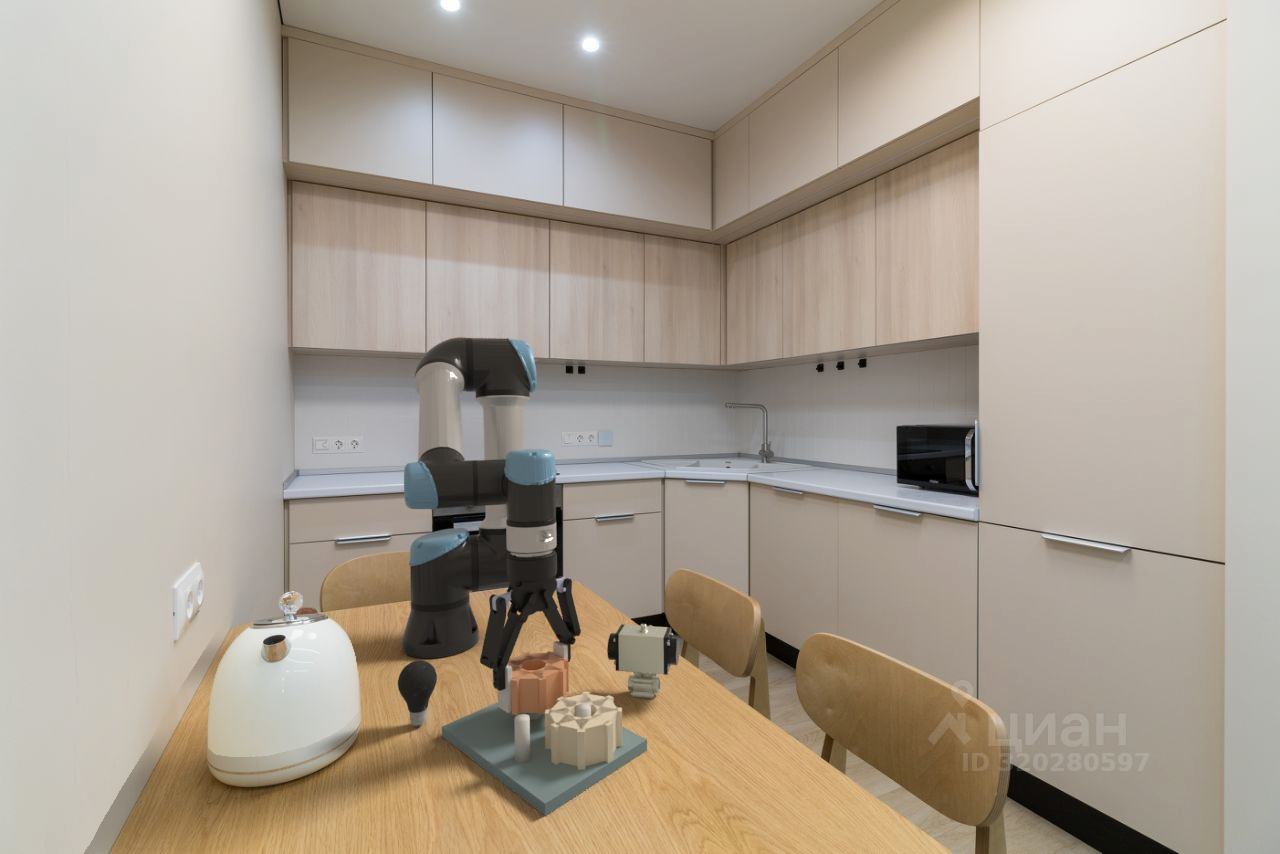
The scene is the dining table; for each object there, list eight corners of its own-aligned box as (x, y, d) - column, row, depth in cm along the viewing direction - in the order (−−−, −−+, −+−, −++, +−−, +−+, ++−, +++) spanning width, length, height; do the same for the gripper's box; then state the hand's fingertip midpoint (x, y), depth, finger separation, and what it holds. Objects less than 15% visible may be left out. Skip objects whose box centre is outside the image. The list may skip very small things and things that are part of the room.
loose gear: (486, 698, 87) (485, 666, 87) (540, 675, 95) (540, 646, 95) (526, 722, 80) (525, 687, 80) (581, 696, 88) (581, 664, 88)
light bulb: (445, 719, 90) (444, 656, 90) (420, 738, 85) (419, 672, 85) (416, 713, 92) (415, 652, 92) (390, 732, 87) (389, 666, 86)
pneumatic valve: (676, 704, 94) (675, 631, 94) (607, 697, 96) (606, 627, 96) (680, 688, 100) (680, 619, 99) (615, 682, 102) (614, 615, 102)
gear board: (442, 736, 85) (441, 690, 85) (539, 692, 98) (539, 652, 98) (545, 816, 68) (544, 758, 68) (647, 749, 81) (646, 701, 81)
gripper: (480, 570, 76) (483, 735, 77) (602, 542, 93) (604, 678, 93) (451, 561, 82) (454, 715, 82) (572, 535, 98) (574, 665, 98)
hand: (534, 695), depth 88 cm, fingers closed on loose gear, 10 cm apart
